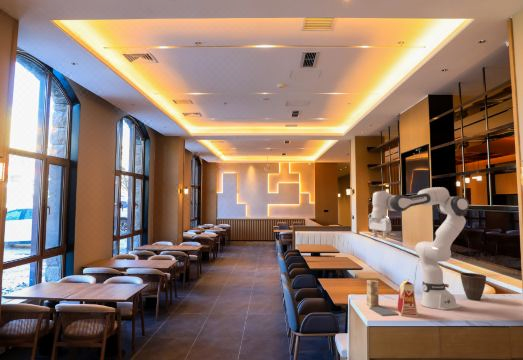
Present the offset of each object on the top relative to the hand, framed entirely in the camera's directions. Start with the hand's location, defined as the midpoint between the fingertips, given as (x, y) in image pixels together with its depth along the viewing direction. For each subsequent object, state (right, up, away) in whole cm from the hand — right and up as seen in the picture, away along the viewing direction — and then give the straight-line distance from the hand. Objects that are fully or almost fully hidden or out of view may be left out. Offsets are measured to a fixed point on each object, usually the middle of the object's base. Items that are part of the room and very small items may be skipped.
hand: (379, 237), depth 218 cm
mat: (-4, -40, -17) cm, 44 cm away
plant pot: (+68, -44, +13) cm, 82 cm away
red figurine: (+9, -40, -21) cm, 46 cm away
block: (-6, -41, -5) cm, 42 cm away
